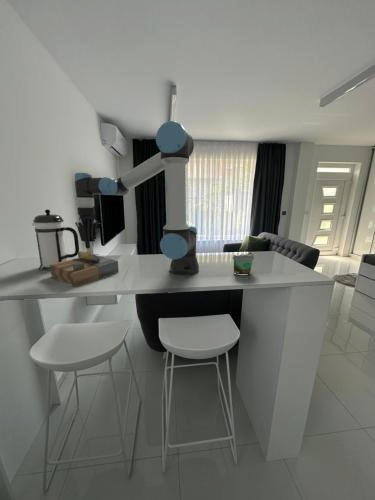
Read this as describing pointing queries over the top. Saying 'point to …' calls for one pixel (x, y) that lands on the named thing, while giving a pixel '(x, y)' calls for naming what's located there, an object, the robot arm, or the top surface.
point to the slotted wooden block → (83, 270)
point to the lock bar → (89, 256)
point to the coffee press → (52, 239)
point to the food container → (243, 263)
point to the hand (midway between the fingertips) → (90, 254)
